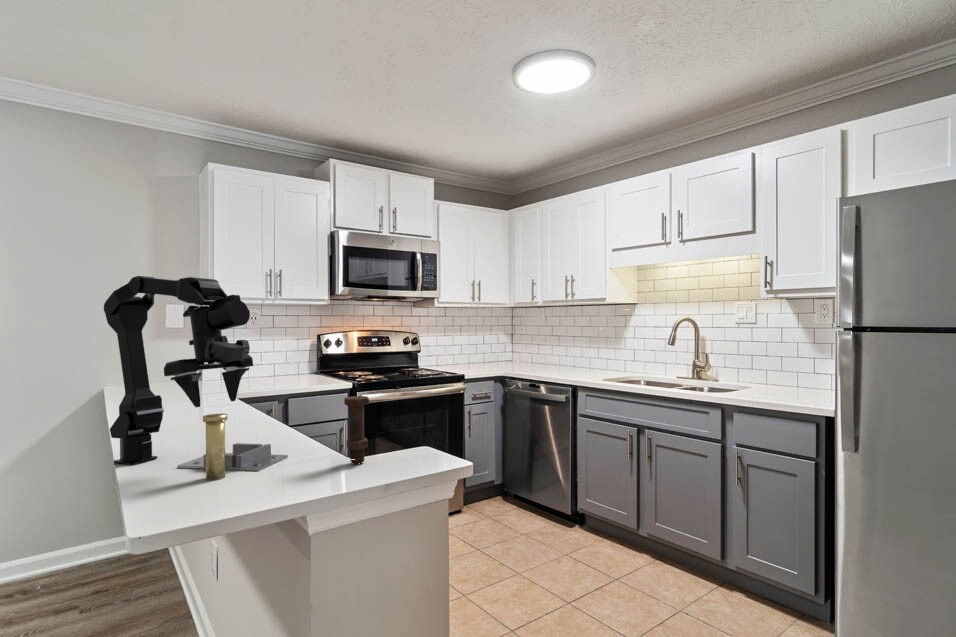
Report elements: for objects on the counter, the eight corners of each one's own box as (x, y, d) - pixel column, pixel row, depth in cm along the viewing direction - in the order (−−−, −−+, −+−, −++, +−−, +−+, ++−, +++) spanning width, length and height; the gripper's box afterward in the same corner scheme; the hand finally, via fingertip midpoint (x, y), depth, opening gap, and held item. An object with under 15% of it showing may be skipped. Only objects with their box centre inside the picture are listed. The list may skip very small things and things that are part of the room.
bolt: (373, 460, 122) (372, 395, 123) (366, 466, 117) (365, 398, 118) (348, 460, 123) (348, 395, 123) (341, 466, 118) (340, 398, 118)
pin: (198, 480, 109) (197, 416, 109) (216, 474, 113) (215, 413, 113) (215, 482, 107) (214, 417, 107) (232, 475, 111) (232, 414, 112)
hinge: (177, 468, 118) (177, 454, 118) (213, 455, 130) (213, 442, 130) (258, 471, 115) (258, 456, 115) (287, 457, 127) (287, 444, 127)
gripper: (196, 327, 105) (206, 405, 104) (266, 327, 122) (275, 393, 121) (157, 337, 109) (166, 412, 108) (231, 335, 126) (239, 400, 125)
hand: (216, 404), depth 115 cm, fingers open, 9 cm apart
